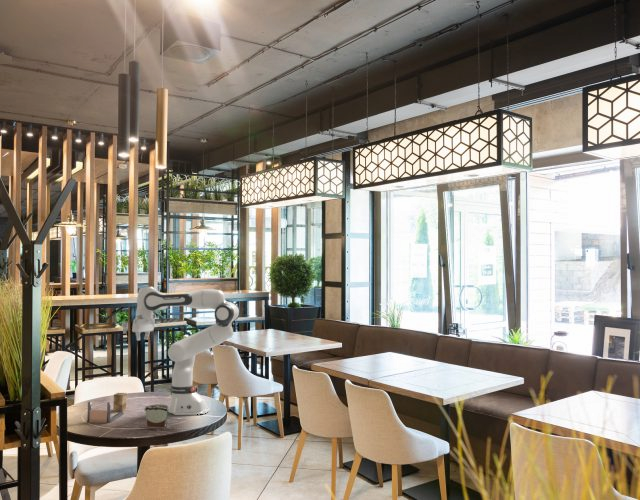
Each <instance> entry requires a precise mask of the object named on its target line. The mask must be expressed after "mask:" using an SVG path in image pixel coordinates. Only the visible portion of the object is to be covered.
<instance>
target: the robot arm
mask: <svg viewBox="0 0 640 500" xmlns="http://www.w3.org/2000/svg"><path fill="white" fill-rule="evenodd" d="M137 293H138V294H137V297H136V304H137V306H136V309H135V310H136V312H135V318H134V319H133V320H132V326H131V328H132V329H131V332H132V333H135V336H136V341H138V342H139V341H141V338H142V337H141V333H145V334H144V337H143V340H144V341H145V340H147V341H148V340H149V336H150V333H151V332H154V329H155V325H156V323H155V321H156V320H155V319H156V317H157V315H156V314H155V312H154V311H164V310H166V309H168V308H169V307H175V306H176V307H187V308H191V309H197V310H211V309H212V310H214V319H215V323H214V324H213V325H210V326H209V327H206V328H204V329H202V330H200V331H198V332H195V333H193V334H191V335H189V336H187V337H184V338H182V339H180V340H177V341H175V342H174V343H172V344H171V345H170V347H169V348H168V350H167V355H168V357H169V359H170V360H171V361H172V362H174V366H173V369H172V372H171V386H170V403H169V406H168V408H169V412H168V413H170V414H173V415H174V416H194V415H195V416H200V414H203V415H206V414H208V413H209V412H210V411H211V407H208V406H207V402H206V399H205V398H204V397H203V396H202V395H200V394H199V393H198V392H197V390H196V389H197V385H194V384H193V378H194V376H193V375H194V373H193V372H194V366H195V361H196V356H197V355H200V354H202V353H203V352H206V351H208V350H210V349H212V348H214V347H216V346H218V345H220V344H223V343H224V342H226V341H227V340H228V339H230V338H232V336H233V335H234V329H233V326H232V324H233V322H235V321H237V320H238V319H239V317H240V315H241V309H240V307H239V305H237V304H236V303H234V302H232V301H231V300H229V299H226V296H225V293H224V292H223V290H220V289H215V288H213V289H212V288H204V289H195V290H191V291H188V292H183V293H177V294H174V293H173V294H167V293H164V292H161V291H159V290H158V289H156V288H155V287H153V286H150V285H148V286H142V287H140V288H139V289H138V292H137ZM207 412H208V413H207ZM205 413H206V414H205ZM197 414H198V415H197Z"/></svg>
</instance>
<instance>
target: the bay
mask: <svg viewBox="0 0 640 500" xmlns="http://www.w3.org/2000/svg"><path fill="white" fill-rule="evenodd" d="M111 404H112V403H111V402H110V401H109V402H107V403H106V409H92V401H88V402H87V420H86V423H101V424H102V423H103V424H107V423H108V424H110V423H112V422H113V421H114V420H117V419H118V418H119V417H122V416H123V415H124V412H125V410H124V411H121V412H117V413H116V414H114V415H113V416H111Z"/></svg>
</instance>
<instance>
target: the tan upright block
mask: <svg viewBox="0 0 640 500" xmlns="http://www.w3.org/2000/svg"><path fill="white" fill-rule="evenodd" d="M112 406H113V410H112V411H113V412H117V413H119V412H121V411H124V412H125V410H127V392H116V393H115V394H113V405H112Z"/></svg>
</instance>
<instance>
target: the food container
mask: <svg viewBox="0 0 640 500" xmlns="http://www.w3.org/2000/svg"><path fill="white" fill-rule="evenodd" d="M144 411H145V422H146V424H145V425H146V428H157V429H165V428H166V427H167V419H168V413H169V406H168V405H166V404H159V403H158V404H149V405H146V406H145V407H144Z"/></svg>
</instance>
